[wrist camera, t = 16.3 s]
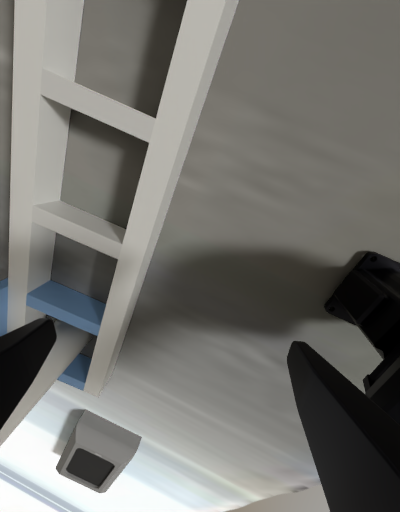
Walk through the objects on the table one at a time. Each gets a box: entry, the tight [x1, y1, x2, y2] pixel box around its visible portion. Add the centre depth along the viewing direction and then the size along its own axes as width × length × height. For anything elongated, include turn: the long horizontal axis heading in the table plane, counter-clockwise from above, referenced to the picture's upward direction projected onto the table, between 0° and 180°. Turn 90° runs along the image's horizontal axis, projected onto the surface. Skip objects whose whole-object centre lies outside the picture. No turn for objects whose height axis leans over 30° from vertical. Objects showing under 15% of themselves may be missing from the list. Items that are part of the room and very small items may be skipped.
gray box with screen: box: [56, 410, 142, 493], centre depth 35 cm, size 10×4×15 cm
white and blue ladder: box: [0, 0, 239, 397], centre depth 17 cm, size 13×49×5 cm, turn 158°
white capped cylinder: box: [0, 319, 93, 446], centre depth 20 cm, size 4×4×14 cm
